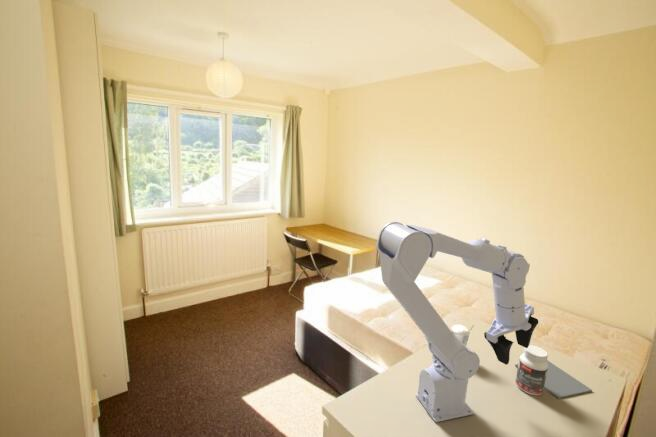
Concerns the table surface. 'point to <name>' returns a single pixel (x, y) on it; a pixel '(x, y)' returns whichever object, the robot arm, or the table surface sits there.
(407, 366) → the table surface
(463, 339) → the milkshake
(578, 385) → the mat
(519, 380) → the pill bottle
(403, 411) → the table surface
